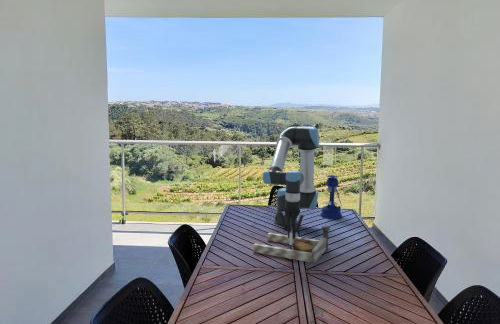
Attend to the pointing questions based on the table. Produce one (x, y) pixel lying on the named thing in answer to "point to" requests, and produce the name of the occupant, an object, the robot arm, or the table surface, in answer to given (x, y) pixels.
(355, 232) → the table surface
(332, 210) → the lantern
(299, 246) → the stone
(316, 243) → the bay
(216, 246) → the table surface
